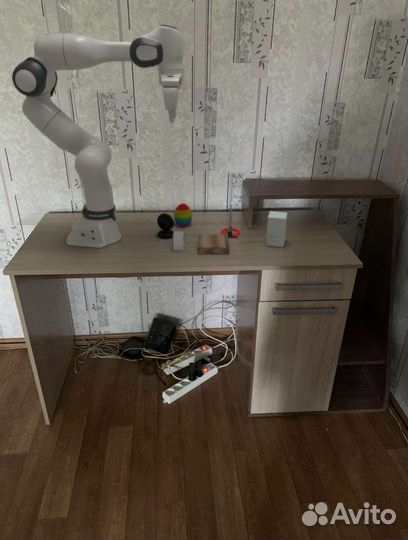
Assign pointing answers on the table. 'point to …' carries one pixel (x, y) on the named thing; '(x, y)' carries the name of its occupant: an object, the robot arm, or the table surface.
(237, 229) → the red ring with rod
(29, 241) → the table surface
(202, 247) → the wooden tray
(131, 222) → the table surface
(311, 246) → the table surface
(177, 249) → the aluminium block
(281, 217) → the supplement box
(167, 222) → the webcam
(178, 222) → the decorative egg
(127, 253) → the table surface
